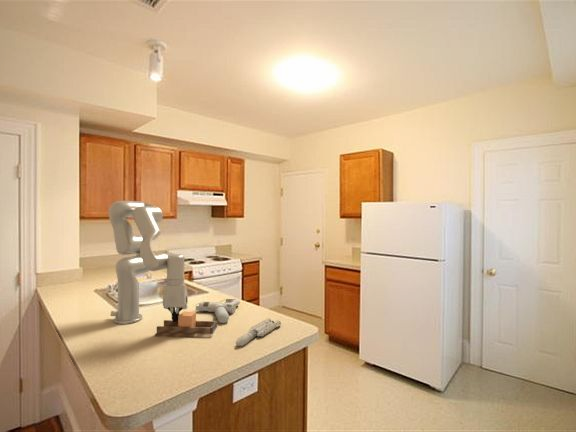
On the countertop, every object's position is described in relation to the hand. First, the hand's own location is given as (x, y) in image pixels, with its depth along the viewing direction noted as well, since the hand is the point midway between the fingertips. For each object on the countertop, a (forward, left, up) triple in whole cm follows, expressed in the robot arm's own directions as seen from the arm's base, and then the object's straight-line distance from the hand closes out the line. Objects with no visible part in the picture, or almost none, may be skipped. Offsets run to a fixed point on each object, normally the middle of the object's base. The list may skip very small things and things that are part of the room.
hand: (175, 321), depth 141 cm
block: (+5, 0, -3) cm, 6 cm away
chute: (+6, 0, -5) cm, 7 cm away
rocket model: (+38, -2, -5) cm, 38 cm away
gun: (+9, +26, -5) cm, 28 cm away
